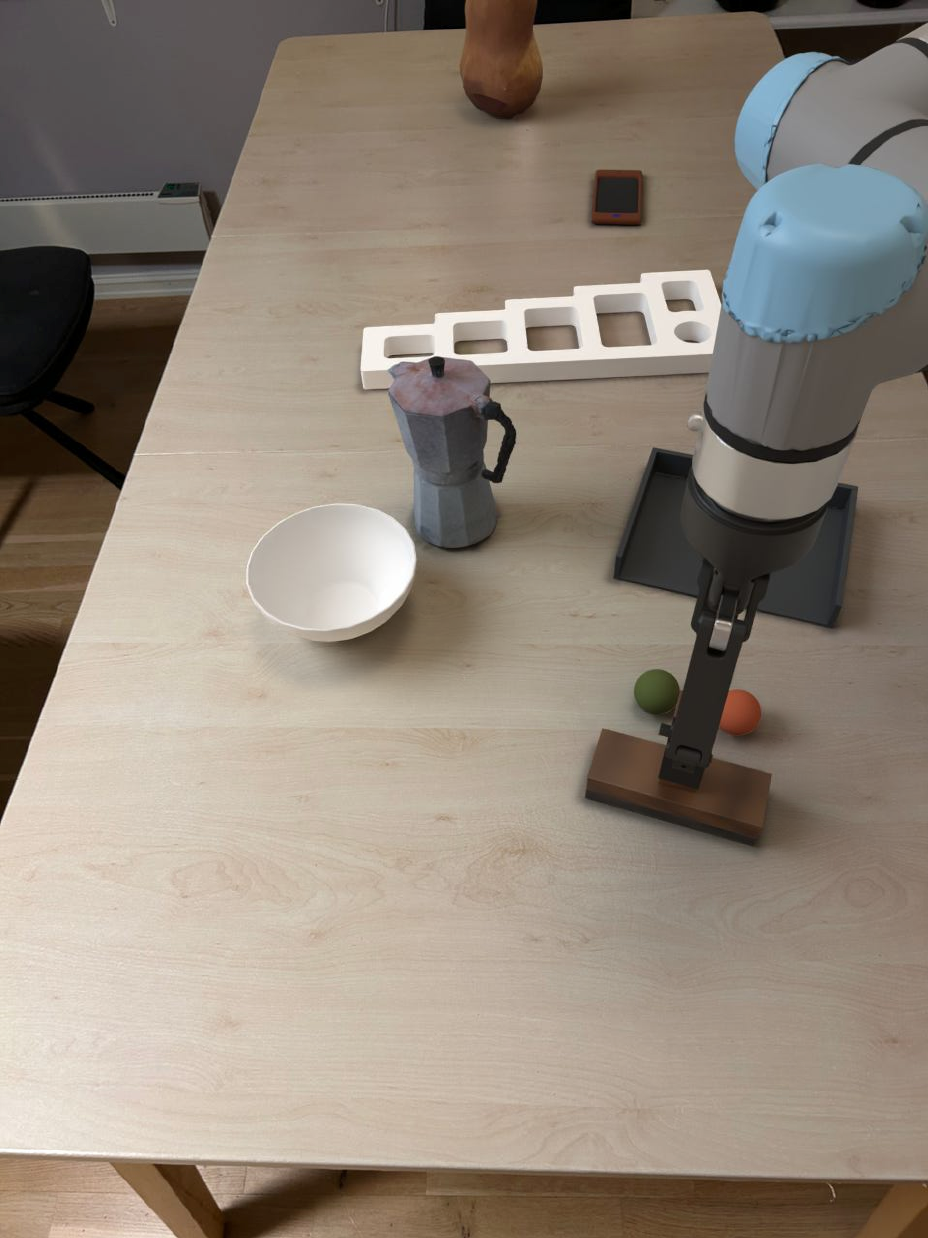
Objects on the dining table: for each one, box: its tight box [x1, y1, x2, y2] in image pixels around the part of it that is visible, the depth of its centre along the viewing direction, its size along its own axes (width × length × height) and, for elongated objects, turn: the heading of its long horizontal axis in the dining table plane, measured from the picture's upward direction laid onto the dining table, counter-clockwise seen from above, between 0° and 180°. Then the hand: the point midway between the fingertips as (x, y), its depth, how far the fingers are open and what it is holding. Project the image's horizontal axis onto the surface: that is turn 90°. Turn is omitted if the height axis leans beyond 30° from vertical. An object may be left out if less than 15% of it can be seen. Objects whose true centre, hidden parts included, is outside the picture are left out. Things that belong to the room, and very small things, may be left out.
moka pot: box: [387, 356, 517, 549], centre depth 91 cm, size 10×15×20 cm, turn 55°
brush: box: [584, 689, 773, 847], centre depth 73 cm, size 14×5×14 cm, turn 70°
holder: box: [359, 269, 722, 390], centre depth 118 cm, size 45×18×3 cm, turn 91°
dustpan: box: [613, 446, 859, 629], centre depth 97 cm, size 27×21×3 cm
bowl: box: [245, 502, 418, 643], centre depth 90 cm, size 16×16×7 cm
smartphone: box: [591, 169, 643, 226], centre depth 139 cm, size 7×1×15 cm
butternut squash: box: [459, 0, 544, 120], centre depth 150 cm, size 14×13×25 cm
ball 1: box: [633, 668, 681, 715], centre depth 82 cm, size 4×4×4 cm
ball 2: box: [718, 688, 762, 737], centre depth 81 cm, size 4×4×4 cm
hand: (698, 699), depth 67 cm, fingers open, 13 cm apart
